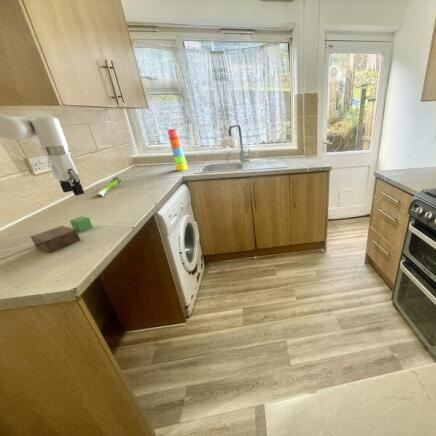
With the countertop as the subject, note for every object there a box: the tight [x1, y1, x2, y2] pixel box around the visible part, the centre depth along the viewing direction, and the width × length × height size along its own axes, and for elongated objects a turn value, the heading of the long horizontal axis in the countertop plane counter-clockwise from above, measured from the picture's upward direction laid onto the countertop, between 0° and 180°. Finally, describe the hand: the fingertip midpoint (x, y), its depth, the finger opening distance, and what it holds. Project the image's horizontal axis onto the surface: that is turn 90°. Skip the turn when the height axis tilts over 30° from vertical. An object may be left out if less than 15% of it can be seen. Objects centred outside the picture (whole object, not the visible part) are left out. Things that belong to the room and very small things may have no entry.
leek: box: [95, 176, 122, 198], centre depth 164 cm, size 6×7×30 cm
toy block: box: [69, 216, 93, 233], centre depth 108 cm, size 5×5×5 cm
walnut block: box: [29, 225, 81, 254], centre depth 95 cm, size 10×10×5 cm
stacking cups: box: [167, 128, 188, 171], centre depth 209 cm, size 10×10×35 cm
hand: (74, 193), depth 101 cm, fingers open, 9 cm apart
